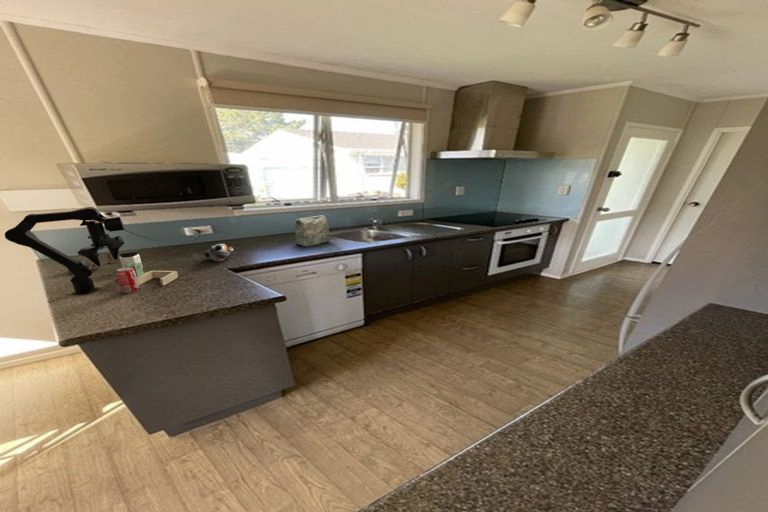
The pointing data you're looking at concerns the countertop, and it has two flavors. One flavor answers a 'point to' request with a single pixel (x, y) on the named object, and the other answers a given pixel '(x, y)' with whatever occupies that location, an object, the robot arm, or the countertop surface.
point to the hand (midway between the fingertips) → (107, 262)
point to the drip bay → (158, 276)
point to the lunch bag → (312, 230)
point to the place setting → (95, 264)
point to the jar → (129, 257)
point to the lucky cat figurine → (218, 252)
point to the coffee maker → (137, 268)
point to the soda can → (127, 280)
